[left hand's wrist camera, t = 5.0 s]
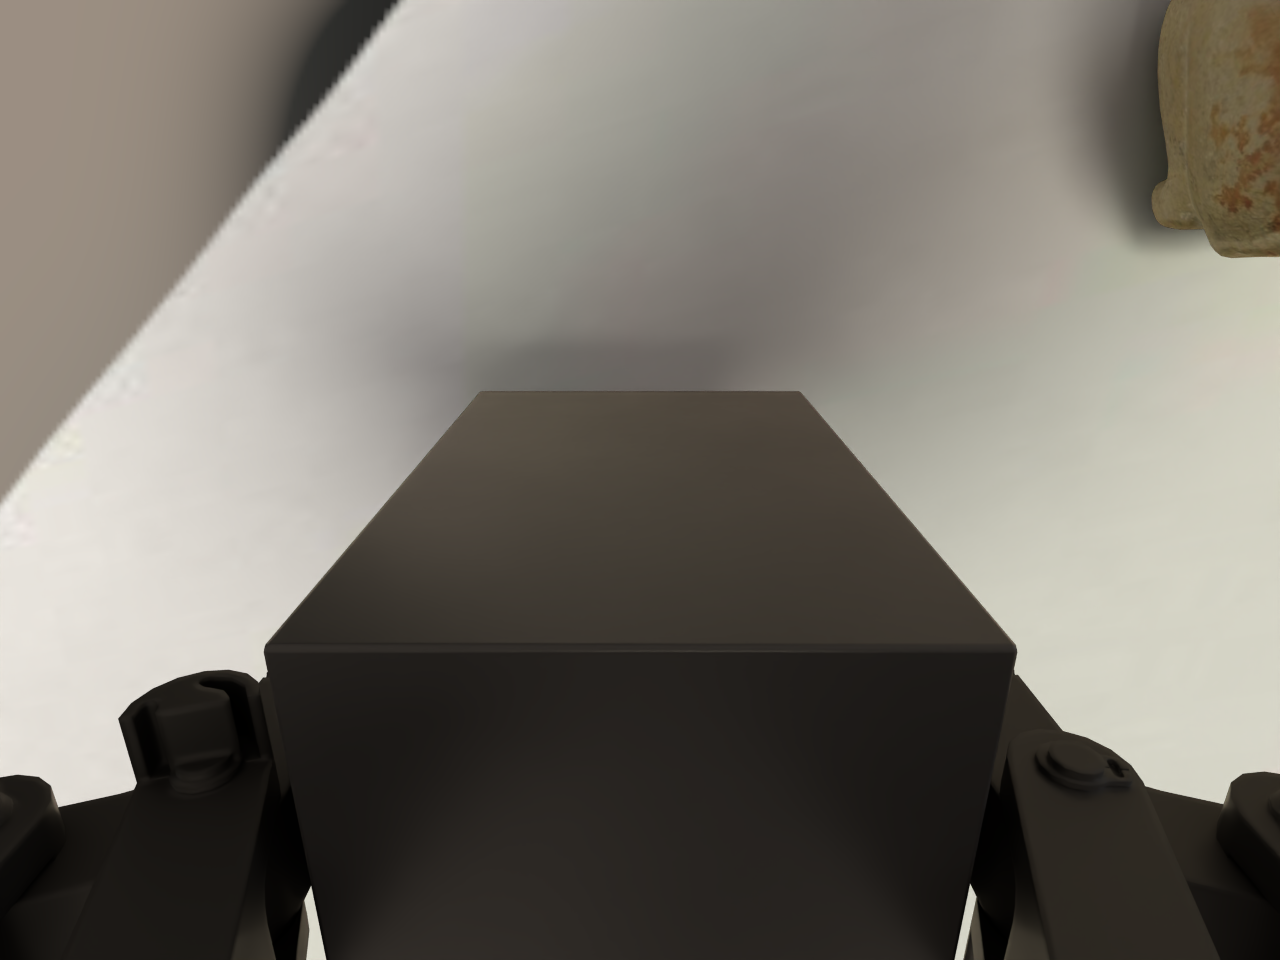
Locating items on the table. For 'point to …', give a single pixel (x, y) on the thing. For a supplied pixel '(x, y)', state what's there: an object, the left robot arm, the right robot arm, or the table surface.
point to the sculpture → (1222, 123)
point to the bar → (640, 696)
